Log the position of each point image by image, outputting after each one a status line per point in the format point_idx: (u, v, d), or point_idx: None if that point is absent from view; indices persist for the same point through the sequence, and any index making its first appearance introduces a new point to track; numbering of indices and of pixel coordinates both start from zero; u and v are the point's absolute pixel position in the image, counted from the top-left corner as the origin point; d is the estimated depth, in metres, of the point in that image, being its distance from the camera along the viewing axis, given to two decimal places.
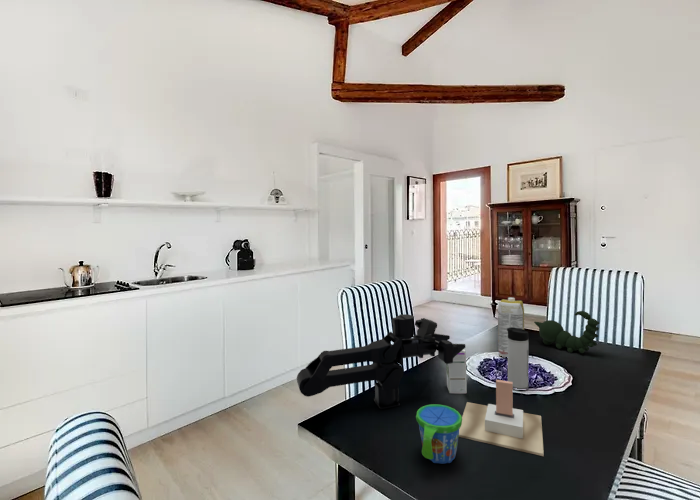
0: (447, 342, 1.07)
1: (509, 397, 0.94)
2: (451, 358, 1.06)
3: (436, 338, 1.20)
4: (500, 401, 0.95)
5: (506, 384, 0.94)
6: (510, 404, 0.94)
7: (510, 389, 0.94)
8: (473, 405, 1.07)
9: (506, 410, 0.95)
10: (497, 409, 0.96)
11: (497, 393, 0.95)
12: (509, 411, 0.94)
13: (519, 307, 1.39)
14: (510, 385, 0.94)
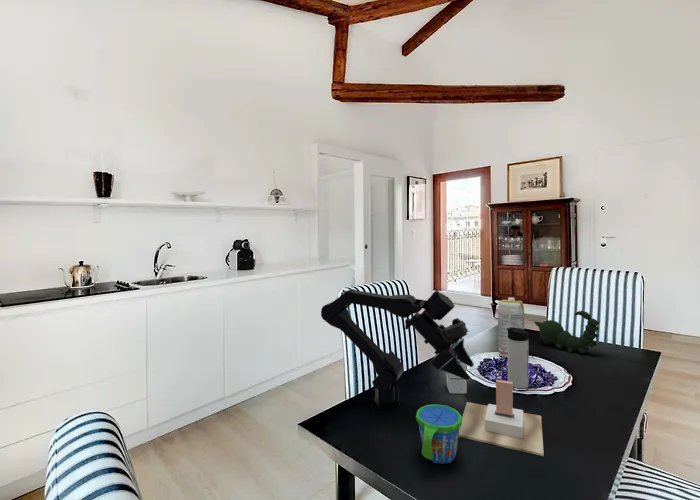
0: (451, 352, 0.93)
1: (509, 397, 0.94)
2: (440, 365, 0.93)
3: (460, 352, 1.05)
4: (500, 401, 0.95)
5: (506, 384, 0.94)
6: (510, 404, 0.94)
7: (510, 389, 0.94)
8: (473, 405, 1.07)
9: (506, 410, 0.95)
10: (497, 409, 0.96)
11: (497, 393, 0.95)
12: (509, 411, 0.94)
13: (519, 307, 1.39)
14: (510, 385, 0.94)
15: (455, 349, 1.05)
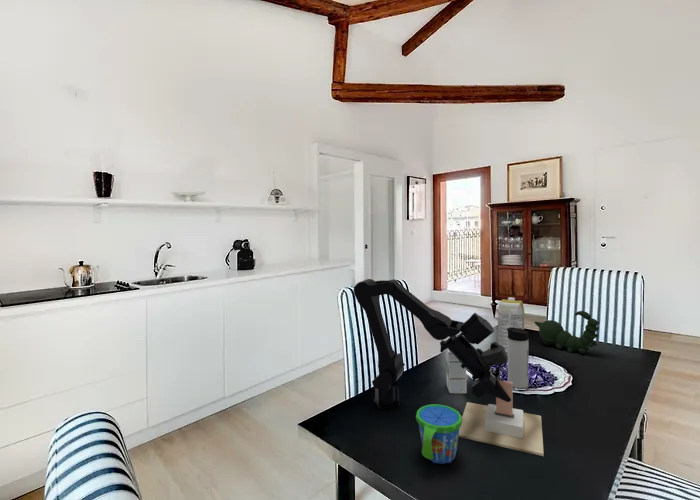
0: (492, 380, 0.89)
1: None
2: (480, 394, 0.89)
3: None
4: (500, 401, 0.95)
5: (506, 384, 0.94)
6: (510, 404, 0.94)
7: (510, 389, 0.94)
8: (473, 405, 1.07)
9: (506, 410, 0.95)
10: (497, 409, 0.96)
11: None
12: (509, 411, 0.94)
13: (519, 307, 1.39)
14: (510, 385, 0.94)
15: None
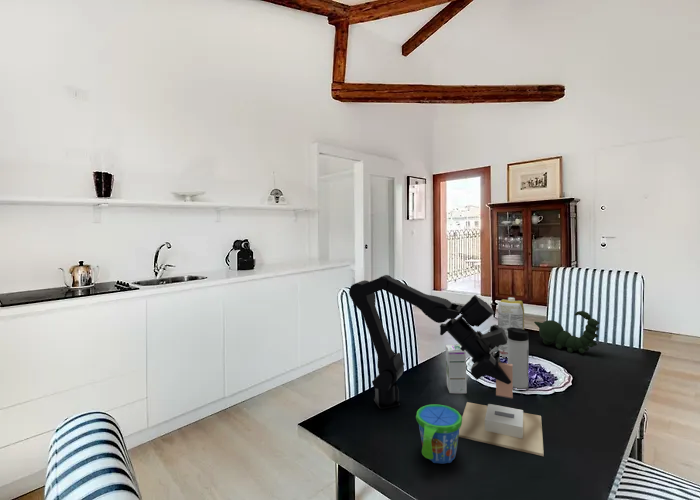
0: (492, 361, 0.88)
1: None
2: (479, 375, 0.89)
3: None
4: (500, 383, 0.95)
5: (506, 366, 0.94)
6: (510, 386, 0.94)
7: (510, 371, 0.93)
8: (473, 405, 1.07)
9: (506, 392, 0.94)
10: (497, 391, 0.95)
11: None
12: (509, 393, 0.94)
13: (519, 307, 1.39)
14: (510, 367, 0.93)
15: None
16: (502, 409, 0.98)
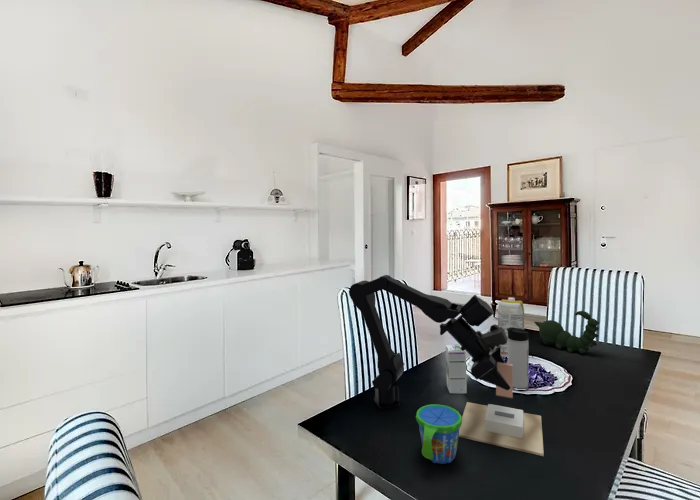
0: (492, 361, 0.88)
1: (509, 379, 0.94)
2: (479, 374, 0.89)
3: (497, 360, 1.00)
4: None
5: (506, 366, 0.94)
6: (510, 386, 0.94)
7: (510, 371, 0.93)
8: (473, 405, 1.07)
9: (506, 392, 0.94)
10: (497, 391, 0.95)
11: None
12: (509, 393, 0.94)
13: (519, 307, 1.39)
14: (510, 367, 0.93)
15: (492, 357, 1.01)
16: (502, 409, 0.98)
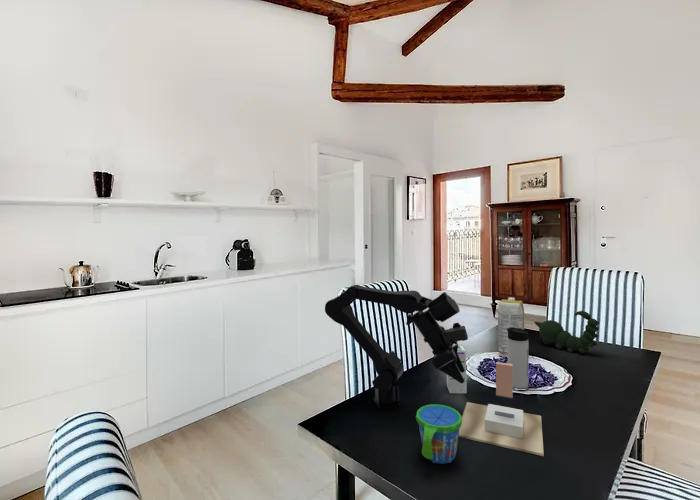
0: (454, 353, 0.93)
1: (509, 379, 0.94)
2: (440, 364, 0.93)
3: None
4: (499, 383, 0.95)
5: (506, 366, 0.94)
6: (510, 386, 0.94)
7: (510, 371, 0.93)
8: (473, 405, 1.07)
9: (506, 392, 0.94)
10: (497, 391, 0.95)
11: (497, 375, 0.95)
12: (509, 393, 0.94)
13: (519, 307, 1.39)
14: (510, 367, 0.93)
15: None
16: (502, 409, 0.98)
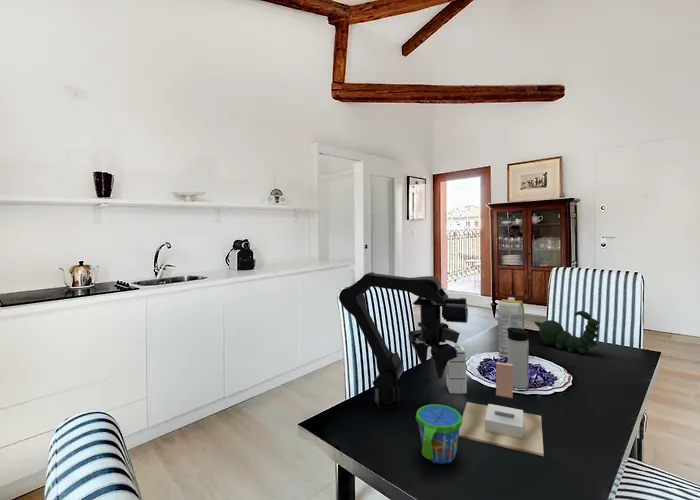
0: None
1: (509, 379, 0.94)
2: (443, 357, 0.95)
3: (423, 350, 1.09)
4: (499, 383, 0.95)
5: (506, 366, 0.94)
6: (510, 386, 0.94)
7: (510, 371, 0.93)
8: (473, 405, 1.07)
9: (506, 392, 0.94)
10: (497, 391, 0.95)
11: (497, 375, 0.95)
12: (509, 393, 0.94)
13: (519, 307, 1.39)
14: (510, 367, 0.93)
15: (421, 345, 1.09)
16: (502, 409, 0.98)
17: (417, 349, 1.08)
